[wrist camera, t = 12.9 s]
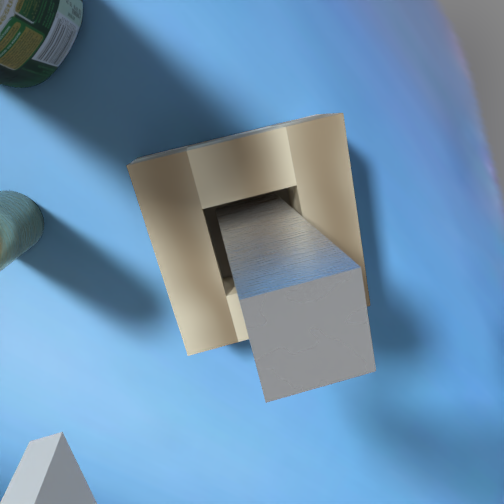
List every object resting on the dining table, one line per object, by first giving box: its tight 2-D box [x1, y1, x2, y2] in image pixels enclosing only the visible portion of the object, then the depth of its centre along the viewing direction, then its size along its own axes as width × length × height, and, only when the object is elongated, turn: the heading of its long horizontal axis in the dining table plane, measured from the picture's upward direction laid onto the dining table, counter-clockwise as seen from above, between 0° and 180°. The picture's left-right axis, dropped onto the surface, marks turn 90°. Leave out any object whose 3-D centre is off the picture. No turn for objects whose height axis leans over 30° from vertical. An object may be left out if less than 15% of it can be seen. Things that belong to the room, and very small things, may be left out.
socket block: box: [126, 113, 370, 356], centre depth 26 cm, size 12×12×5 cm
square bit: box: [215, 194, 376, 402], centre depth 20 cm, size 4×4×14 cm
